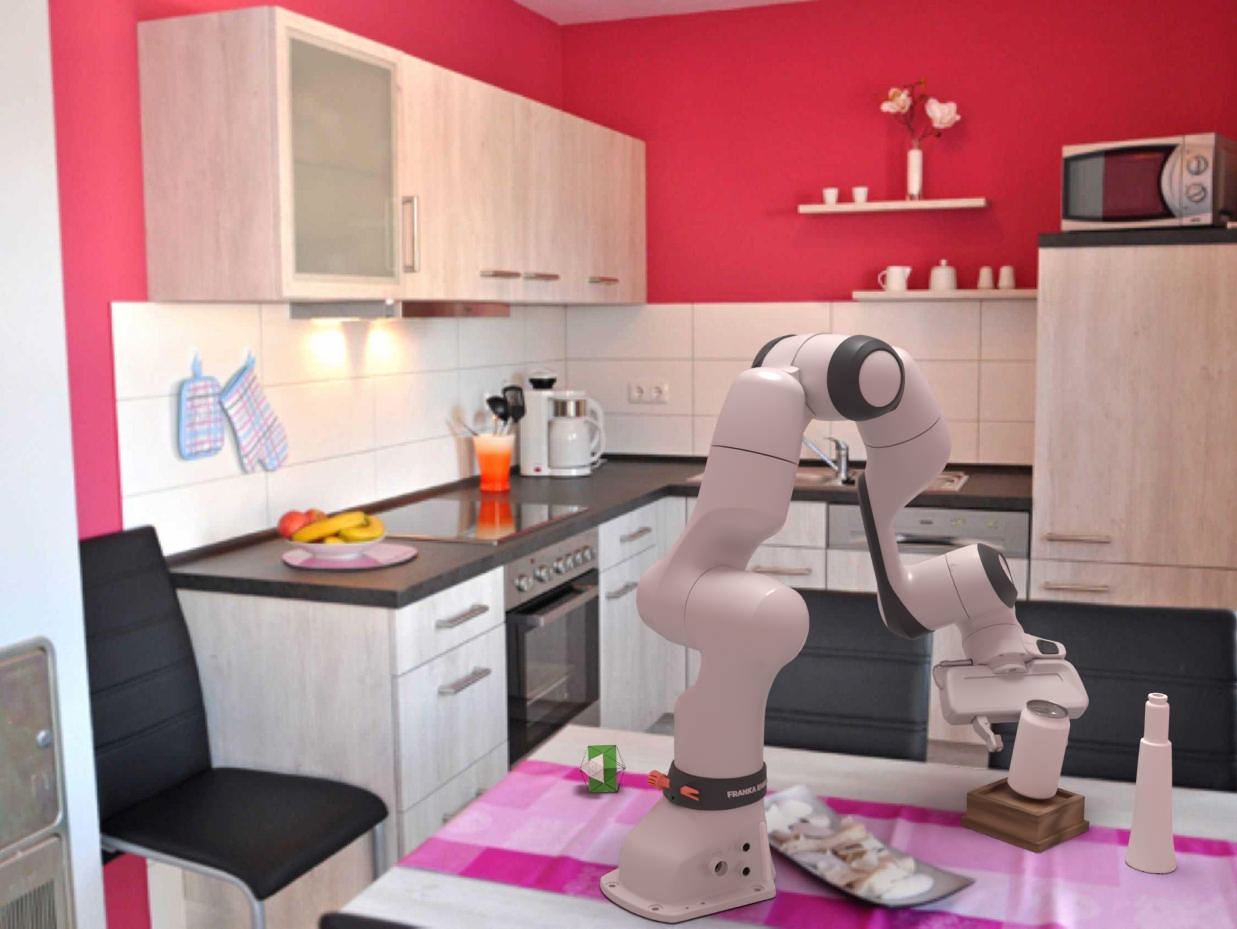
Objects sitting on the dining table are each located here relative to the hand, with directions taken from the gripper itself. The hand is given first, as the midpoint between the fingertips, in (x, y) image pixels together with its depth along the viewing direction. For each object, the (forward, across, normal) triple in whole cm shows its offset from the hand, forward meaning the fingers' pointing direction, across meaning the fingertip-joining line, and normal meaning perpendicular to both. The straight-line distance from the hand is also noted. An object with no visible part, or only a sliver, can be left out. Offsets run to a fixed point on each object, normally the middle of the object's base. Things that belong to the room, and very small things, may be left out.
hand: (1029, 748), depth 176 cm
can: (+3, +1, +6) cm, 7 cm away
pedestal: (+8, 0, +9) cm, 11 cm away
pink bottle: (+17, +10, -1) cm, 20 cm away
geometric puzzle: (-9, -54, +26) cm, 61 cm away
